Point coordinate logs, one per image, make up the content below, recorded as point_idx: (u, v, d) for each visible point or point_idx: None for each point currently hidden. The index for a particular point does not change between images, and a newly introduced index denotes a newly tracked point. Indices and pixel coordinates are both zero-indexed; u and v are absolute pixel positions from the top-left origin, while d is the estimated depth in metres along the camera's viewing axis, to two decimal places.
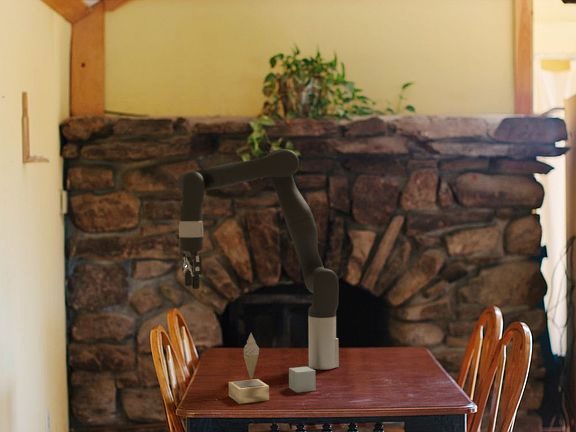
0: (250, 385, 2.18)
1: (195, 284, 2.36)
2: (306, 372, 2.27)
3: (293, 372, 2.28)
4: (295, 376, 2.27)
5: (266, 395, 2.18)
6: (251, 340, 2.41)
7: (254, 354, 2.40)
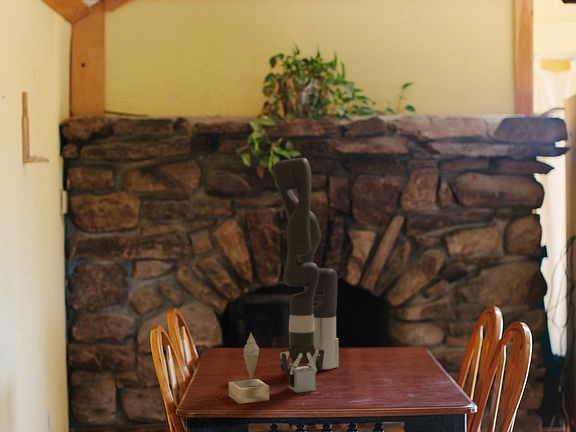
0: (250, 385, 2.18)
1: (315, 379, 2.31)
2: (306, 372, 2.27)
3: None
4: (295, 376, 2.27)
5: (266, 395, 2.18)
6: (251, 340, 2.41)
7: (254, 354, 2.40)
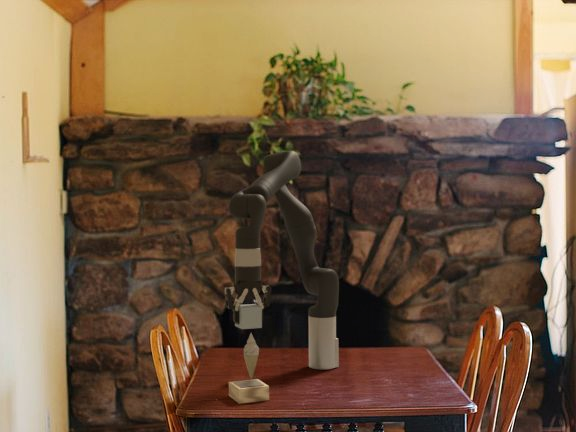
0: (250, 385, 2.18)
1: (262, 317, 2.21)
2: (252, 308, 2.17)
3: None
4: (240, 312, 2.17)
5: (266, 395, 2.18)
6: (251, 340, 2.41)
7: (254, 354, 2.40)
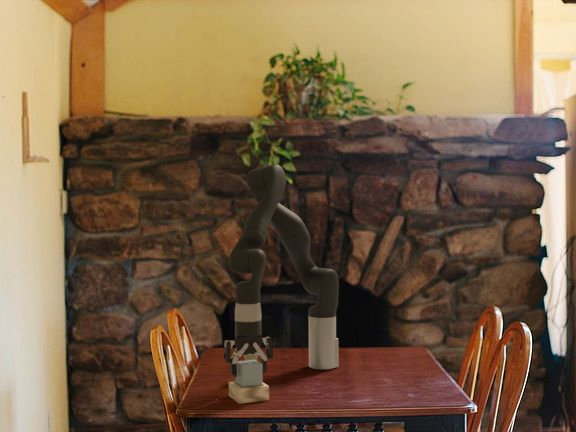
0: None
1: None
2: (252, 365, 2.17)
3: (239, 365, 2.18)
4: (241, 369, 2.17)
5: (266, 395, 2.18)
6: None
7: (254, 354, 2.40)
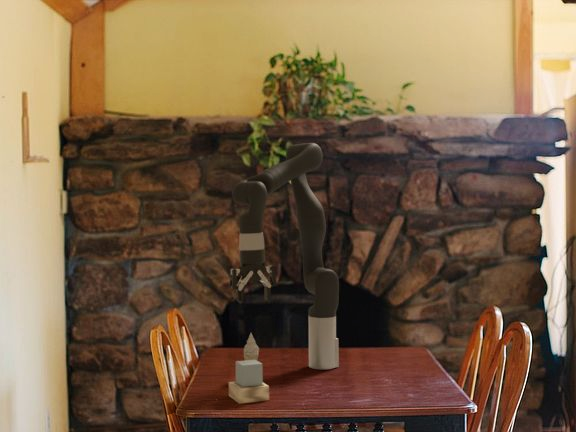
0: None
1: None
2: (252, 365, 2.17)
3: (239, 365, 2.18)
4: (241, 369, 2.17)
5: (266, 395, 2.18)
6: (251, 340, 2.41)
7: (254, 354, 2.40)
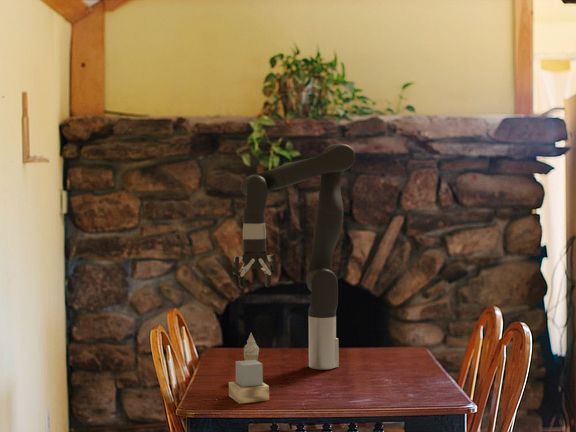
0: None
1: None
2: (252, 365, 2.17)
3: (239, 365, 2.18)
4: (241, 369, 2.17)
5: (266, 395, 2.18)
6: (251, 340, 2.41)
7: (254, 354, 2.40)
